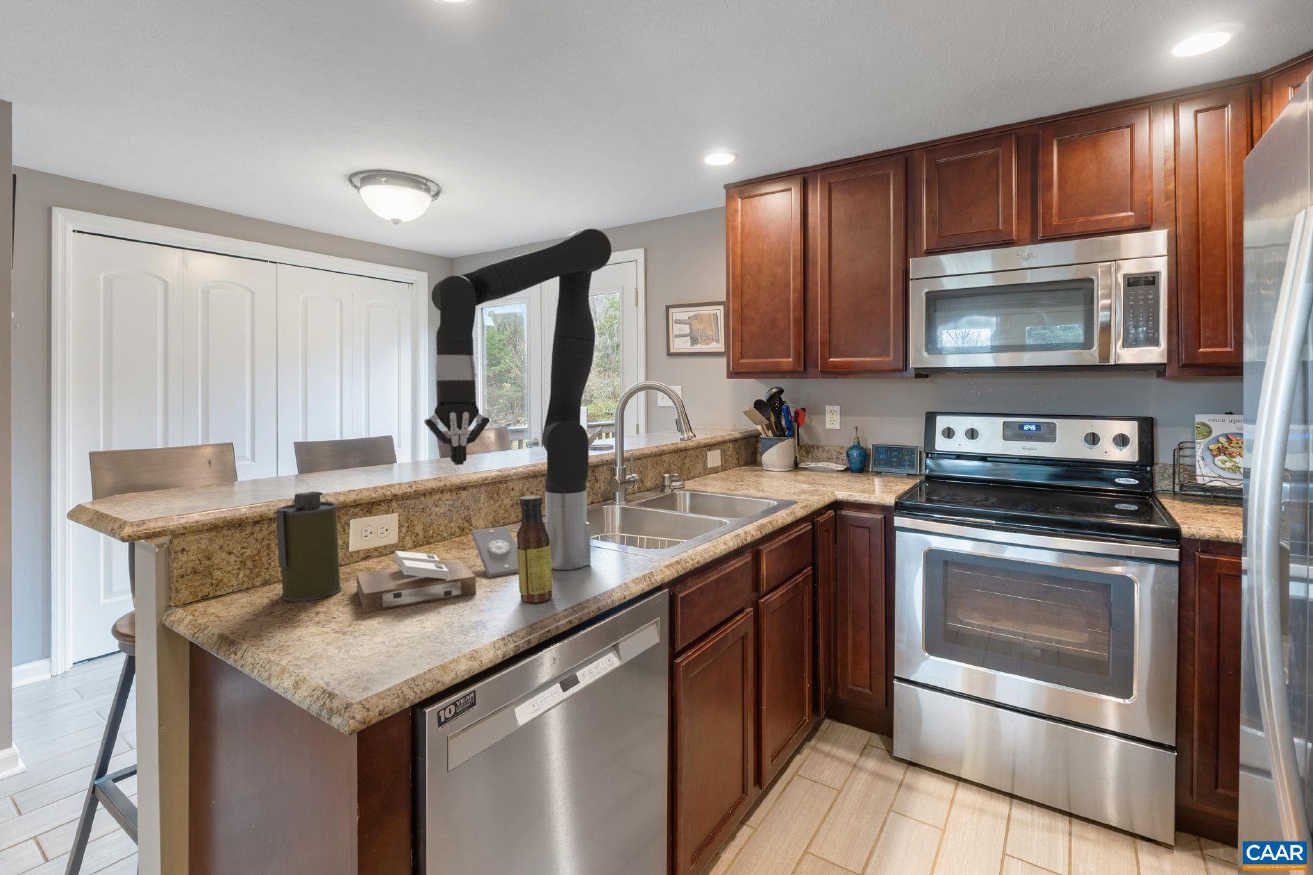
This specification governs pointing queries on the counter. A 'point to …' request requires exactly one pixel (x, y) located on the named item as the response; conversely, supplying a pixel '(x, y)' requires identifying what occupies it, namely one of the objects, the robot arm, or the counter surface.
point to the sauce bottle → (533, 553)
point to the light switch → (496, 550)
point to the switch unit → (412, 586)
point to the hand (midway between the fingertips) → (458, 464)
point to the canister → (308, 548)
